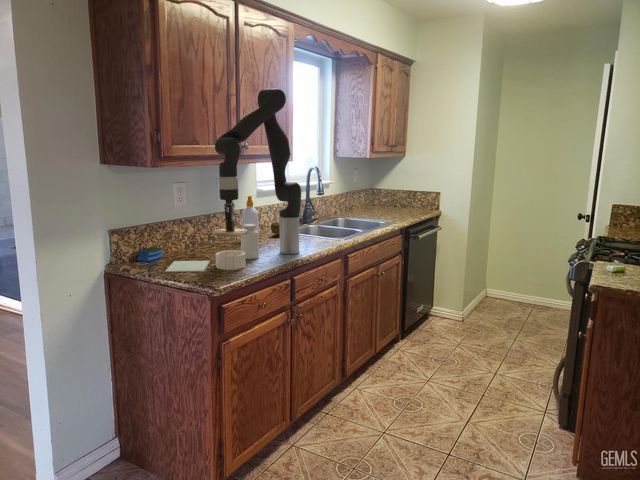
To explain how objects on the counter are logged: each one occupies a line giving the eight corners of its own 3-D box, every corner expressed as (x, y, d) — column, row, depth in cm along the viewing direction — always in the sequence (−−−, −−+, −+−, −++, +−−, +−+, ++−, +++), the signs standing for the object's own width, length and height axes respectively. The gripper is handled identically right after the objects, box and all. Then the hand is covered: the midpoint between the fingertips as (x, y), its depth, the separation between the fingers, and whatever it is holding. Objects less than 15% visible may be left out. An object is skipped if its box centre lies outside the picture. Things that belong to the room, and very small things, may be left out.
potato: (291, 234, 277) (291, 220, 276) (277, 238, 267) (277, 223, 265) (279, 233, 282) (279, 219, 280) (265, 236, 271) (265, 222, 270)
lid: (215, 230, 207) (214, 216, 206) (248, 230, 208) (248, 216, 207) (210, 236, 193) (210, 222, 192) (246, 236, 194) (245, 221, 193)
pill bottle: (251, 260, 214) (250, 226, 211) (237, 258, 218) (236, 225, 215) (262, 257, 221) (262, 224, 218) (248, 254, 225) (248, 222, 222)
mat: (174, 262, 209) (174, 261, 209) (209, 261, 211) (209, 260, 210) (165, 272, 193) (165, 270, 193) (203, 271, 194) (203, 270, 194)
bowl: (218, 263, 208) (217, 250, 207) (246, 262, 210) (246, 250, 208) (214, 270, 197) (214, 256, 196) (244, 269, 198) (244, 256, 197)
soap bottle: (260, 239, 263) (259, 195, 259) (256, 242, 254) (255, 197, 250) (245, 238, 264) (244, 194, 260) (240, 241, 255) (239, 196, 251)
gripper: (236, 189, 190) (237, 232, 194) (239, 186, 204) (240, 226, 208) (217, 189, 190) (218, 232, 193) (221, 186, 204) (222, 226, 207)
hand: (230, 229), depth 200 cm, fingers closed on lid, 3 cm apart
